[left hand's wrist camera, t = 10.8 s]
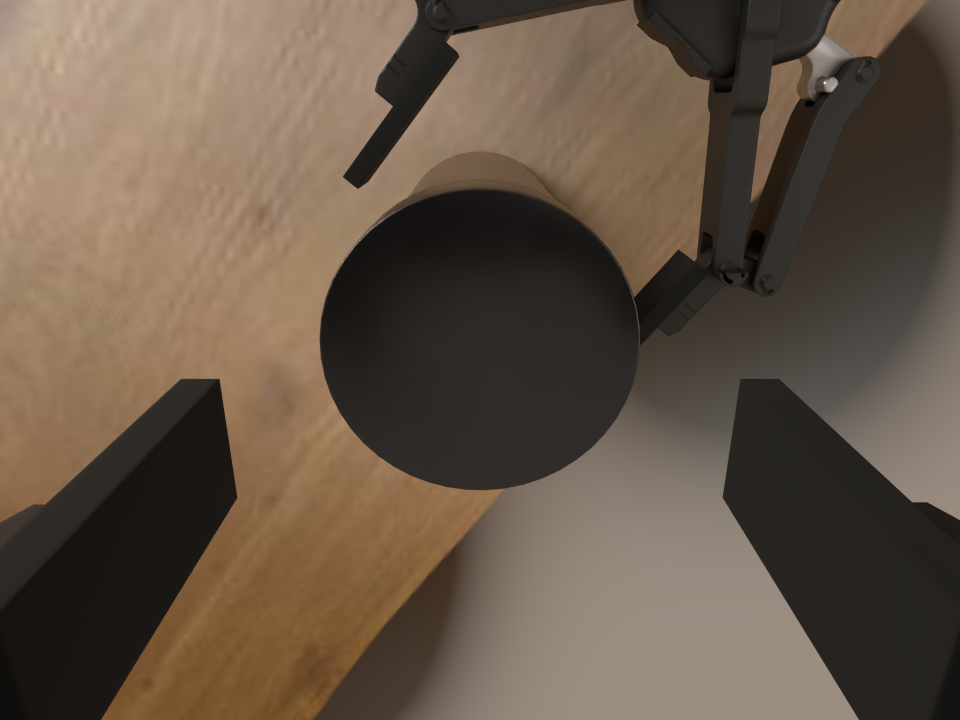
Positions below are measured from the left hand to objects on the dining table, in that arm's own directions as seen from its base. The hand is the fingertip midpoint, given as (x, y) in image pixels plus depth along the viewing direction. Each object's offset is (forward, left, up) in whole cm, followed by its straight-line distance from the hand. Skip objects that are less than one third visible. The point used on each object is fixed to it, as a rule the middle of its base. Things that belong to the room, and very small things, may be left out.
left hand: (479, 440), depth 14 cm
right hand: (-1, -1, -17) cm, 17 cm away
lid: (0, 0, -5) cm, 5 cm away
